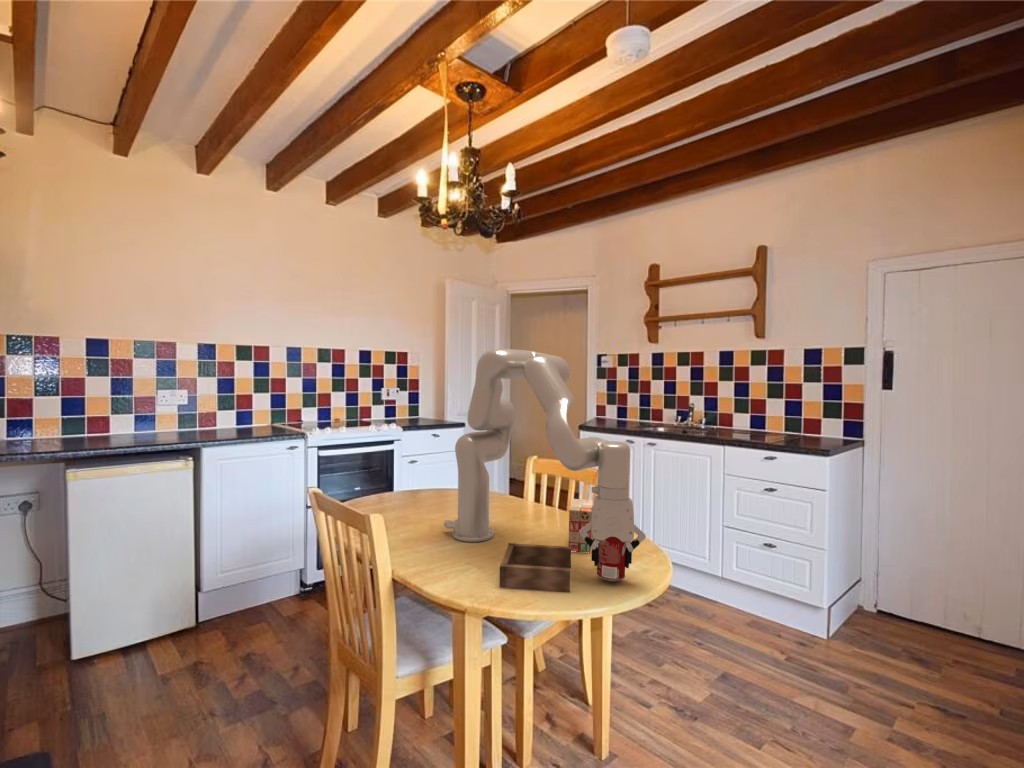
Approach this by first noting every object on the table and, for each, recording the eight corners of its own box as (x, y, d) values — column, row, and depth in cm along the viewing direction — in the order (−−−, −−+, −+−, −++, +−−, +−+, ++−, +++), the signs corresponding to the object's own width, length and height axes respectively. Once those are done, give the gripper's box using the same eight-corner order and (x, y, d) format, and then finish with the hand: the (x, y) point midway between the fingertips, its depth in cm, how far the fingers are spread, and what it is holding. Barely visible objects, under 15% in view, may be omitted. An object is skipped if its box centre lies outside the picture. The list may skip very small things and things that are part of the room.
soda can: (619, 585, 121) (621, 535, 121) (592, 578, 125) (594, 529, 124) (628, 576, 127) (630, 528, 126) (602, 569, 131) (604, 522, 130)
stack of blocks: (574, 529, 166) (574, 491, 166) (593, 530, 165) (594, 492, 164) (568, 552, 145) (569, 509, 145) (590, 554, 144) (591, 510, 143)
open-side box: (499, 587, 121) (499, 566, 121) (508, 561, 137) (508, 543, 137) (569, 592, 119) (570, 570, 119) (570, 565, 135) (571, 546, 135)
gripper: (577, 494, 122) (575, 568, 123) (652, 498, 120) (649, 573, 121) (577, 487, 130) (575, 557, 131) (647, 490, 128) (645, 561, 128)
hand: (611, 564), depth 126 cm, fingers open, 6 cm apart
